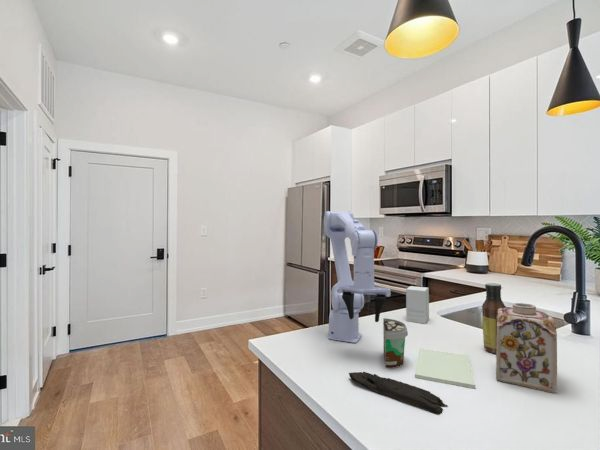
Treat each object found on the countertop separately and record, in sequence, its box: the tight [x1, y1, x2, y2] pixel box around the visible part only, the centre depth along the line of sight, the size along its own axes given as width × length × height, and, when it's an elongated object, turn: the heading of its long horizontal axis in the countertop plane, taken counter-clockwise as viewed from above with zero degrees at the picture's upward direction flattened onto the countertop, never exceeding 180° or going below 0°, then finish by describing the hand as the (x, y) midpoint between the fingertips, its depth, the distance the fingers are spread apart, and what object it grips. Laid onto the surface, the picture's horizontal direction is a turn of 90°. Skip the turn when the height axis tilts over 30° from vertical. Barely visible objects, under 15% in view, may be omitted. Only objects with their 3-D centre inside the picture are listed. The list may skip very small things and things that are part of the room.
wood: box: [348, 371, 448, 415], centre depth 73 cm, size 22×7×3 cm, turn 52°
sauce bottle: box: [482, 282, 507, 355], centre depth 95 cm, size 6×6×20 cm
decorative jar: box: [495, 302, 558, 394], centre depth 79 cm, size 12×12×18 cm
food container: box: [382, 317, 408, 369], centre depth 88 cm, size 12×6×10 cm, turn 168°
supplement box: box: [405, 285, 430, 324], centre depth 125 cm, size 7×7×13 cm
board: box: [414, 347, 476, 389], centre depth 84 cm, size 13×18×1 cm
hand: (364, 319), depth 91 cm, fingers open, 7 cm apart
